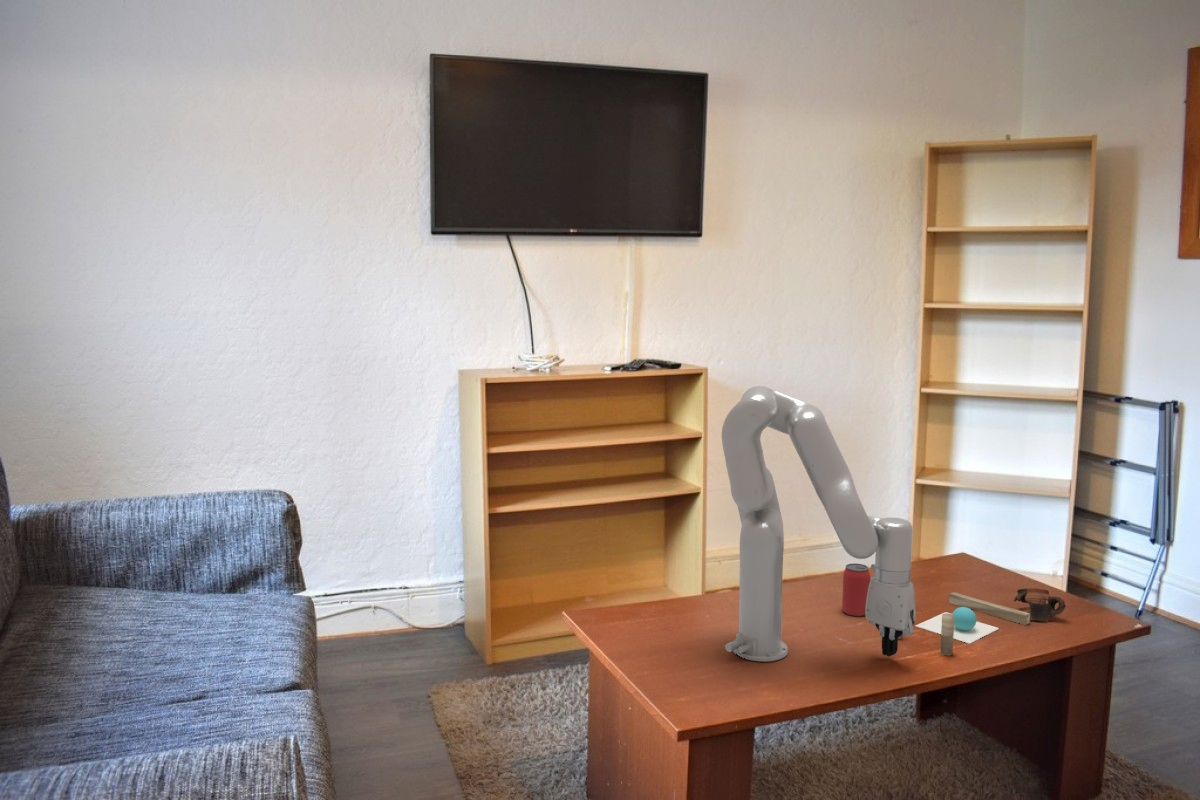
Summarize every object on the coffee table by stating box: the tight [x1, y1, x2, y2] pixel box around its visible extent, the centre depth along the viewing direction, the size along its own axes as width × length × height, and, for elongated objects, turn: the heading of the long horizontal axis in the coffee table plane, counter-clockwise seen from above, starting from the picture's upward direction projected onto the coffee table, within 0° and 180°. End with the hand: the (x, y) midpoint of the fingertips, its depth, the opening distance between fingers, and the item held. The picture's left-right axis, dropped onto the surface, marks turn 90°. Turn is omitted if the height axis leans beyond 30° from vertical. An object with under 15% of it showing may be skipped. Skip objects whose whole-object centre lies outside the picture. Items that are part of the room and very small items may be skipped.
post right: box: [939, 612, 955, 657], centre depth 207 cm, size 3×3×9 cm
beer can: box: [841, 562, 871, 617], centre depth 233 cm, size 7×7×12 cm
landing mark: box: [914, 611, 1000, 645], centre depth 223 cm, size 14×14×1 cm
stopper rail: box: [948, 591, 1030, 626], centre depth 232 cm, size 2×20×2 cm, turn 40°
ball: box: [951, 606, 977, 631], centre depth 221 cm, size 6×6×6 cm
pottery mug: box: [1013, 587, 1066, 623], centre depth 230 cm, size 12×10×8 cm
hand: (889, 653), depth 204 cm, fingers closed
